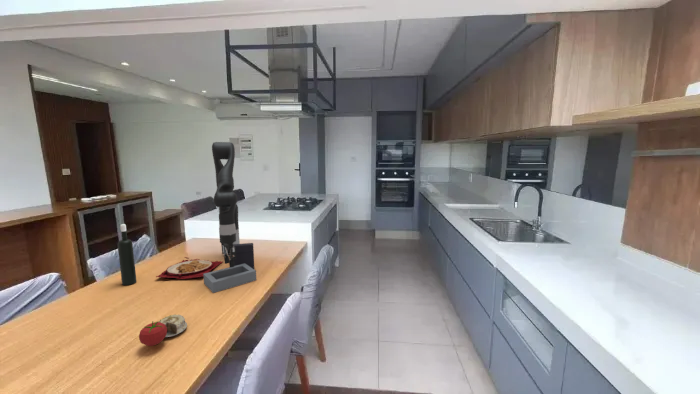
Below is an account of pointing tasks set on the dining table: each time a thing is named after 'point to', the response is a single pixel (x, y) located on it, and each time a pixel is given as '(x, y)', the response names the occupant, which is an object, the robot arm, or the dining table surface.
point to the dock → (229, 277)
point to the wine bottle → (126, 258)
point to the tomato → (153, 333)
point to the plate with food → (189, 269)
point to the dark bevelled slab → (244, 254)
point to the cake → (174, 324)
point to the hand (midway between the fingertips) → (229, 265)
